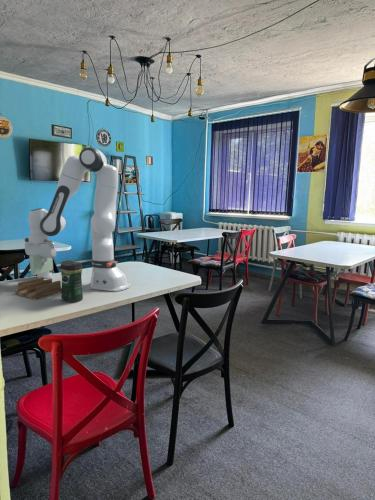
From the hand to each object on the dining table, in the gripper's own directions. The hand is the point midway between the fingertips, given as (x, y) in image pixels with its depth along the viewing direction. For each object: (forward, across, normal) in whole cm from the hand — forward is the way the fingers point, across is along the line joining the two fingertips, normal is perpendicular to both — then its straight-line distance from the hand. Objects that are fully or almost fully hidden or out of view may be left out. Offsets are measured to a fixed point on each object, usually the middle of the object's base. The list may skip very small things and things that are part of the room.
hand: (41, 264), depth 185 cm
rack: (+10, -13, +13) cm, 21 cm away
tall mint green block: (+4, 0, 0) cm, 4 cm away
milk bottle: (+10, +9, -8) cm, 16 cm away
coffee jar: (+11, -34, +12) cm, 38 cm away
